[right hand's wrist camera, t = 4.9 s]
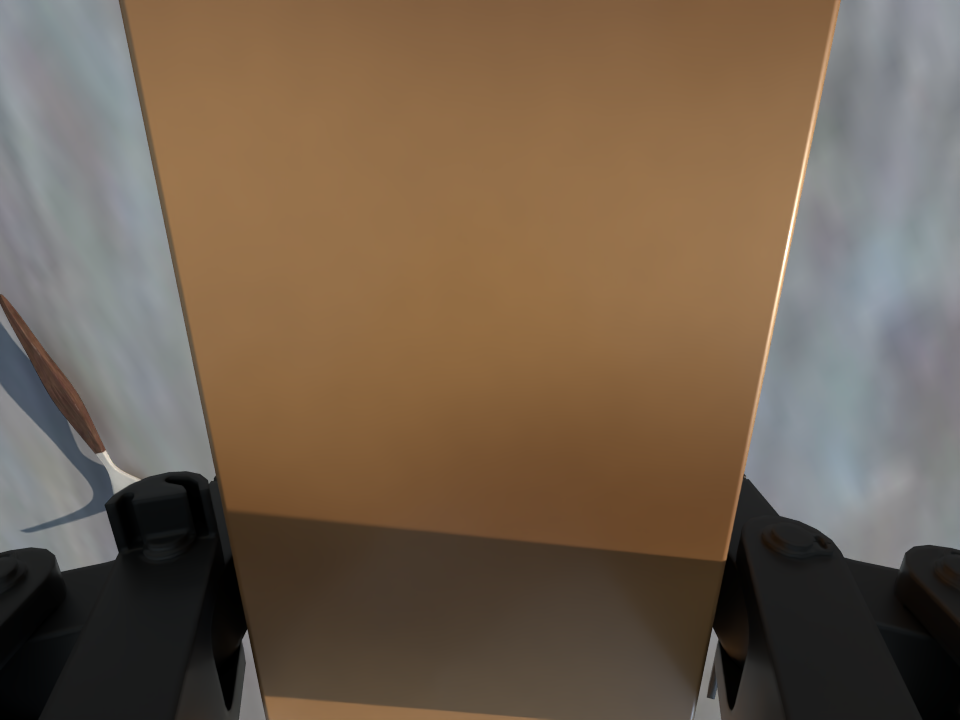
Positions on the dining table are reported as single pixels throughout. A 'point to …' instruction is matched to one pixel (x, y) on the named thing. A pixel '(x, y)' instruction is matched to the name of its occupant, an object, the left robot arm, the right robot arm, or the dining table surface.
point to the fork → (64, 396)
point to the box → (479, 329)
